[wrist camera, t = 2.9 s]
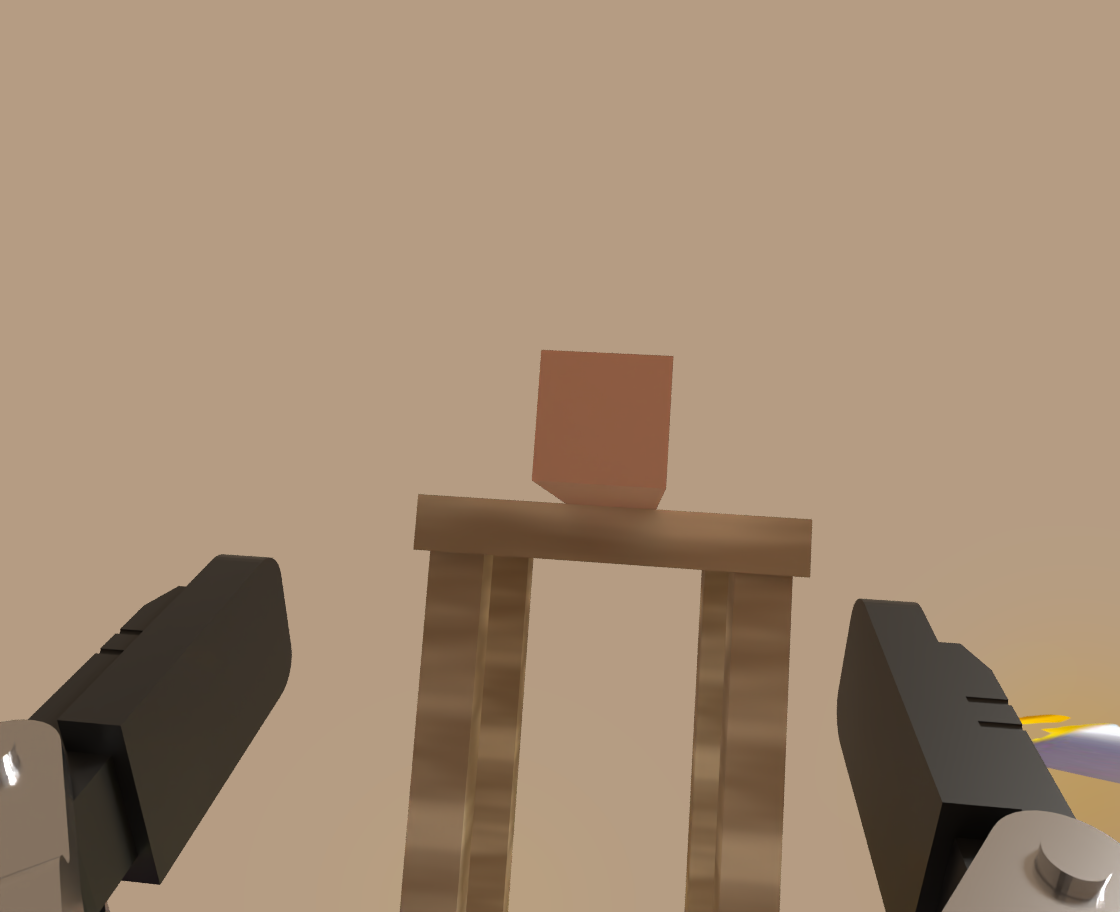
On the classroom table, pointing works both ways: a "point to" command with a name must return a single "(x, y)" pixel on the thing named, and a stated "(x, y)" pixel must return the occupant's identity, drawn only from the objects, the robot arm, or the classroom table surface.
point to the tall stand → (499, 673)
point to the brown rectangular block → (603, 428)
